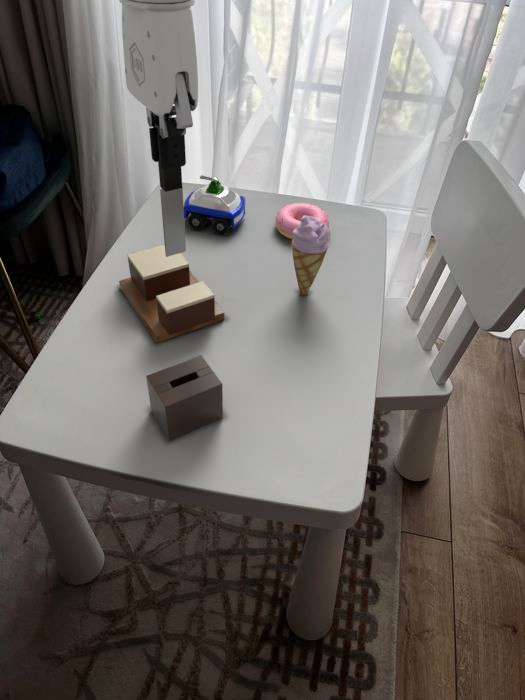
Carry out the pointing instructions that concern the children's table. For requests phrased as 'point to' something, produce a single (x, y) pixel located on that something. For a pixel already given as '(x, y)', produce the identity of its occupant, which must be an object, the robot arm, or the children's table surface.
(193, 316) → the cake slice
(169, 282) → the cake
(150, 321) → the cutting board
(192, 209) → the toy car
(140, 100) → the robot arm
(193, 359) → the knife block
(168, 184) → the knife
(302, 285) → the ice cream cone
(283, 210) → the doughnut
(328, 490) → the children's table surface
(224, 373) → the children's table surface
